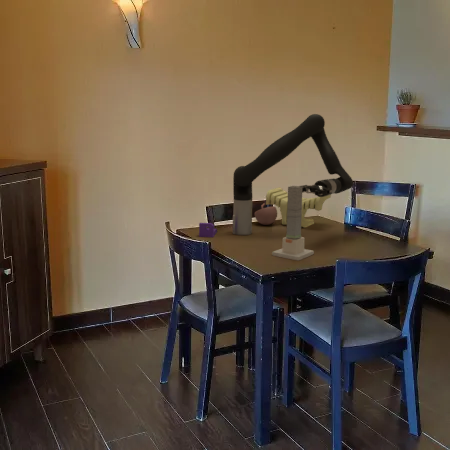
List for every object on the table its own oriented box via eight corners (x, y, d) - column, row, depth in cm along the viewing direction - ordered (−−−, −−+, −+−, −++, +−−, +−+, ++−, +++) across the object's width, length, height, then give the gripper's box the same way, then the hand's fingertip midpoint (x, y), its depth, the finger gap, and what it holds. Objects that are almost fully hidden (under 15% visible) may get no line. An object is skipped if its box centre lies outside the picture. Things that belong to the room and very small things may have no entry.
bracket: (213, 238, 279) (213, 224, 277) (199, 237, 280) (199, 223, 278) (217, 232, 290) (217, 219, 289) (203, 231, 291) (203, 218, 290)
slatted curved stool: (265, 223, 309) (266, 190, 305) (278, 218, 322) (279, 187, 318) (317, 230, 293) (319, 196, 290) (329, 225, 307) (330, 192, 303)
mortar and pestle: (267, 221, 315) (267, 200, 313) (281, 225, 306) (282, 204, 303) (249, 224, 308) (250, 202, 306) (264, 228, 299) (264, 206, 296)
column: (295, 239, 244) (297, 188, 239) (286, 237, 247) (287, 186, 242) (301, 237, 247) (302, 186, 243) (291, 235, 250) (293, 185, 245)
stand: (298, 260, 240) (298, 243, 238) (272, 255, 247) (272, 238, 246) (313, 254, 250) (314, 237, 248) (288, 249, 257) (288, 232, 256)
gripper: (311, 178, 268) (293, 181, 255) (339, 181, 259) (321, 185, 247) (311, 194, 269) (292, 198, 257) (338, 197, 261) (320, 202, 248)
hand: (307, 191), depth 252 cm, fingers open, 8 cm apart
